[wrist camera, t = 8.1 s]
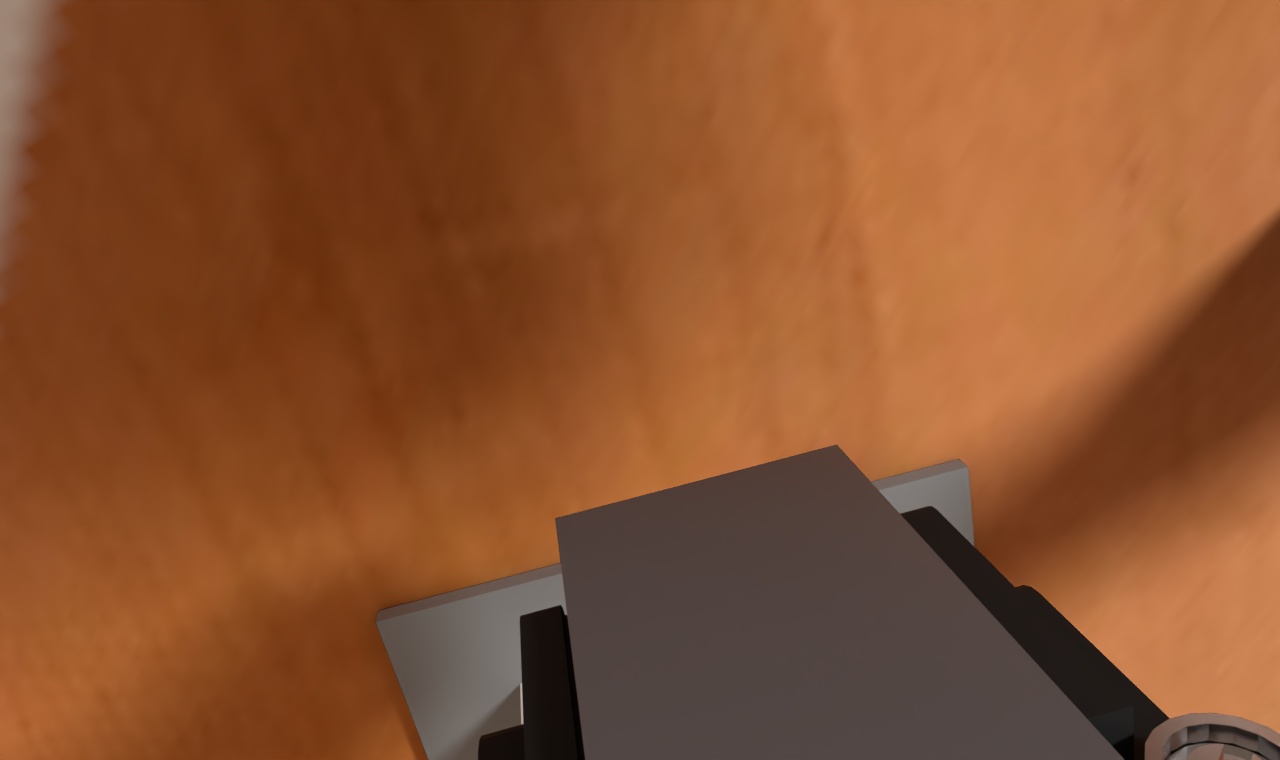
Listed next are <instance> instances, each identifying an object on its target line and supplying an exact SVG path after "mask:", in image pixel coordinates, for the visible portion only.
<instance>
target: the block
mask: <svg viewBox="0 0 1280 760" xmlns="http://www.w3.org/2000/svg"><path fill="white" fill-rule="evenodd" d="M555 521H556V529H557V537H558V545H559V553H560V561H561V569H562V577H563V585H564V593H565V601H566V609H567V617H568V625H569V633H570V641H571V649H572V657H573V665H574V673H575V681H576V689H577V697H578V705H579V713H580V721H581V729H582V737H583V745H584V753H585V760H1124V759H1123V757H1122V756H1121V755H1120V754H1119V753H1118V752H1117V751H1116V750H1115V749H1114V748H1113V747H1112V745H1111V744H1110V743H1109V742H1108V741H1107V740H1106V739H1105V738H1104V737H1103V736H1102V735H1101V733H1100V732H1099V731H1098V730H1097V729H1096V728H1095V727H1094V726H1093V725H1092V724H1091V722H1090V721H1089V720H1088V719H1087V718H1086V717H1085V716H1084V715H1083V714H1082V713H1081V712H1080V710H1079V709H1078V708H1077V707H1076V706H1075V705H1074V704H1073V703H1072V702H1071V701H1070V699H1069V698H1068V697H1067V696H1066V695H1065V694H1064V693H1063V692H1062V691H1061V690H1060V689H1059V687H1058V686H1057V685H1056V684H1055V683H1054V682H1053V681H1052V680H1051V679H1050V678H1049V676H1048V675H1047V674H1046V673H1045V672H1044V671H1043V670H1042V669H1041V668H1040V667H1039V666H1038V664H1037V663H1036V662H1035V661H1034V660H1033V659H1032V658H1031V657H1030V656H1029V655H1028V653H1027V652H1026V651H1025V650H1024V649H1023V648H1022V647H1021V646H1020V645H1019V644H1018V643H1017V641H1016V640H1015V639H1014V638H1013V637H1012V636H1011V635H1010V634H1009V633H1008V632H1007V630H1006V629H1005V628H1004V627H1003V626H1002V625H1001V624H1000V623H999V622H998V621H997V620H996V618H995V617H994V616H993V615H992V614H991V613H990V612H989V611H988V610H987V609H986V607H985V606H984V605H983V604H982V603H981V602H980V601H979V600H978V599H977V598H976V597H975V595H974V594H973V593H972V592H971V591H970V590H969V589H968V588H967V587H966V586H965V585H964V583H963V582H962V581H961V580H960V579H959V578H958V577H957V576H956V575H955V574H954V572H953V571H952V570H951V569H950V568H949V567H948V566H947V565H946V564H945V563H944V562H943V560H942V559H941V558H940V557H939V556H938V555H937V554H936V553H935V552H934V551H933V549H932V548H931V547H930V546H929V545H928V544H927V543H926V542H925V541H924V540H923V539H922V537H921V536H920V535H919V534H918V533H917V532H916V531H915V530H914V529H913V528H912V526H911V525H910V524H909V523H908V522H907V521H906V520H905V519H904V518H903V517H902V516H901V514H900V513H899V512H898V511H897V510H896V509H895V508H894V507H893V506H892V505H891V503H890V502H889V501H888V500H887V499H886V498H885V497H884V496H883V495H882V494H881V493H880V491H879V490H878V489H877V488H876V487H875V486H874V485H873V484H872V483H871V482H870V480H869V479H868V478H867V477H866V476H865V475H864V474H863V473H862V472H861V471H860V470H859V468H858V467H857V466H856V465H855V464H854V463H853V462H852V461H851V460H850V459H849V457H848V456H847V455H846V454H845V453H844V452H843V451H842V450H841V449H840V448H839V447H838V445H833V446H830V447H826V448H822V449H818V450H814V451H810V452H807V453H803V454H799V455H795V456H791V457H788V458H784V459H780V460H776V461H772V462H768V463H765V464H761V465H757V466H753V467H749V468H746V469H742V470H738V471H734V472H730V473H726V474H723V475H719V476H715V477H711V478H707V479H704V480H700V481H696V482H692V483H688V484H684V485H681V486H677V487H673V488H669V489H665V490H662V491H658V492H654V493H650V494H646V495H643V496H639V497H635V498H631V499H627V500H623V501H620V502H616V503H612V504H608V505H604V506H601V507H597V508H593V509H589V510H585V511H581V512H578V513H574V514H570V515H566V516H562V517H559V518H555Z"/></svg>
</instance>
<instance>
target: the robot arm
mask: <svg viewBox="0 0 1280 760" xmlns="http://www.w3.org/2000/svg"><path fill="white" fill-rule="evenodd" d="M900 514H901V516H902V517H903V518H904V519H905V520H906V521H907V522H908V523H909V524H910V525H911V526H912V528H913V529H914V530H915V531H916V532H917V533H918V534H919V535H920V536H921V537H922V539H923V540H924V541H925V542H926V543H927V544H928V545H929V546H930V547H931V548H932V549H933V551H934V552H935V553H936V554H937V555H938V556H939V557H940V558H941V559H942V560H943V562H944V563H945V564H946V565H947V566H948V567H949V568H950V569H951V570H952V571H953V572H954V574H955V575H956V576H957V577H958V578H959V579H960V580H961V581H962V582H963V583H964V585H965V586H966V587H967V588H968V589H969V590H970V591H971V592H972V593H973V594H974V595H975V597H976V598H977V599H978V600H979V601H980V602H981V603H982V604H983V605H984V606H985V607H986V609H987V610H988V611H989V612H990V613H991V614H992V615H993V616H994V617H995V618H996V620H997V621H998V622H999V623H1000V624H1001V625H1002V626H1003V627H1004V628H1005V629H1006V630H1007V632H1008V633H1009V634H1010V635H1011V636H1012V637H1013V638H1014V639H1015V640H1016V641H1017V643H1018V644H1019V645H1020V646H1021V647H1022V648H1023V649H1024V650H1025V651H1026V652H1027V653H1028V655H1029V656H1030V657H1031V658H1032V659H1033V660H1034V661H1035V662H1036V663H1037V664H1038V666H1039V667H1040V668H1041V669H1042V670H1043V671H1044V672H1045V673H1046V674H1047V675H1048V676H1049V678H1050V679H1051V680H1052V681H1053V682H1054V683H1055V684H1056V685H1057V686H1058V687H1059V689H1060V690H1061V691H1062V692H1063V693H1064V694H1065V695H1066V696H1067V697H1068V698H1069V699H1070V701H1071V702H1072V703H1073V704H1074V705H1075V706H1076V707H1077V708H1078V709H1079V710H1080V712H1081V713H1082V714H1083V715H1084V716H1085V717H1086V718H1087V719H1088V720H1089V721H1090V722H1091V724H1092V725H1093V726H1094V727H1095V728H1096V729H1097V730H1098V731H1099V732H1100V733H1101V735H1102V736H1103V737H1104V738H1105V739H1106V740H1107V741H1108V742H1109V743H1110V744H1111V745H1112V747H1113V748H1114V749H1115V750H1116V751H1117V752H1118V753H1119V754H1120V755H1121V756H1122V757H1123V759H1124V760H1280V734H1279V733H1277V732H1276V731H1274V730H1272V729H1270V728H1269V727H1267V726H1264V725H1261V724H1258V723H1255V722H1252V721H1250V720H1247V719H1244V718H1241V717H1236V716H1230V715H1224V714H1218V713H1190V714H1186V715H1182V716H1178V717H1174V718H1171V719H1170V718H1169V717H1168V716H1167V715H1165V714H1164V713H1163V712H1162V711H1161V710H1160V709H1159V708H1158V707H1157V706H1156V705H1155V704H1154V703H1153V702H1152V701H1151V700H1150V699H1149V698H1148V697H1147V696H1146V695H1145V694H1144V693H1143V692H1142V691H1141V690H1140V689H1138V688H1137V687H1136V686H1135V685H1134V684H1133V683H1132V682H1131V681H1130V680H1129V679H1128V678H1127V677H1126V676H1125V675H1124V674H1123V673H1122V672H1121V671H1120V670H1119V669H1118V668H1117V667H1116V666H1115V665H1114V664H1113V663H1111V662H1110V661H1109V660H1108V659H1107V658H1106V657H1105V656H1104V655H1103V654H1102V653H1101V652H1100V651H1099V650H1098V649H1097V648H1096V647H1095V646H1094V645H1093V644H1092V643H1091V642H1090V641H1089V640H1088V639H1087V638H1085V637H1084V636H1083V635H1082V634H1081V633H1080V632H1079V631H1078V630H1077V629H1076V628H1075V627H1074V626H1073V625H1072V624H1071V623H1070V622H1069V621H1068V620H1067V619H1066V618H1065V617H1064V616H1063V615H1062V614H1061V613H1060V612H1058V611H1057V610H1056V609H1055V608H1054V607H1053V606H1052V605H1051V604H1050V603H1049V602H1048V601H1047V600H1046V599H1045V598H1044V597H1043V596H1042V595H1041V594H1040V593H1038V592H1037V591H1036V590H1034V589H1033V588H1032V587H1029V586H1025V585H1022V586H1019V587H1014V586H1013V585H1012V584H1011V583H1010V582H1009V581H1008V580H1007V579H1006V578H1005V577H1004V576H1003V575H1002V574H1001V573H1000V572H999V571H998V570H997V569H996V568H995V567H994V566H993V565H992V564H991V563H990V562H989V561H988V560H987V559H986V558H985V557H984V556H983V555H982V554H981V553H980V552H979V551H978V550H977V549H976V548H975V547H974V546H973V545H972V544H971V543H970V542H969V541H968V540H967V539H966V538H965V537H964V536H963V535H962V534H961V533H960V532H959V531H958V530H957V529H956V528H955V527H954V526H953V525H952V524H951V523H950V522H949V521H948V520H947V519H946V518H945V517H944V516H943V515H942V514H941V513H940V512H939V511H938V510H937V509H935V508H934V507H933V506H927V507H923V508H919V509H915V510H912V511H908V512H904V513H900ZM520 643H521V670H522V697H523V724H521V725H518V726H514V727H511V728H507V729H503V730H500V731H496V732H493V733H489V734H485V735H482V736H481V738H480V740H479V747H478V760H585V753H584V745H583V737H582V729H581V721H580V713H579V705H578V697H577V689H576V681H575V673H574V665H573V657H572V649H571V641H570V633H569V625H568V617H567V615H565V613H564V610H563V607H562V606H561V605H558V606H555V607H551V608H547V609H543V610H540V611H536V612H532V613H529V614H525V615H521V616H520Z"/></svg>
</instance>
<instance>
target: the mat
mask: <svg viewBox="0 0 1280 760" xmlns="http://www.w3.org/2000/svg"><path fill="white" fill-rule="evenodd" d="M871 483H872V484H873V485H874V486H875V487H876V488H877V489H878V490H879V491H880V493H881V494H882V495H883V496H884V497H885V498H886V499H887V500H888V501H889V502H890V503H891V505H892V506H893V507H894V508H895V509H896V510H897V511H898V512H899V513H904V512H908V511H912V510H915V509H919V508H923V507H927V506H933V507H934V508H935V509H937V510H938V511H939V512H940V513H941V514H942V515H943V516H944V517H945V518H946V519H947V520H948V521H949V522H950V523H951V524H952V525H953V526H954V527H955V528H956V529H957V530H958V531H959V532H960V533H961V534H962V535H963V536H964V537H965V538H966V539H967V540H968V541H969V542H970V543H971V544H972V545H973V546H974V547H975V545H974V533H973V520H972V507H971V495H970V482H969V469H968V466H967V465H966V464H964V463H963V462H962V461H961V460H960V459H957V460H954V461H950V462H946V463H942V464H938V465H934V466H931V467H927V468H923V469H919V470H915V471H911V472H908V473H904V474H900V475H896V476H892V477H888V478H885V479H881V480H877V481H873V482H871ZM558 605H561V606H562V607H563V610H564V613H565V615H567V609H566V601H565V593H564V585H563V577H562V569H561V563H559V564H555V565H552V566H548V567H544V568H540V569H536V570H532V571H529V572H525V573H521V574H517V575H513V576H509V577H506V578H502V579H498V580H494V581H490V582H487V583H483V584H479V585H475V586H471V587H467V588H464V589H460V590H456V591H452V592H448V593H444V594H441V595H437V596H433V597H429V598H425V599H421V600H418V601H414V602H410V603H406V604H402V605H398V606H395V607H391V608H387V609H383V610H379V611H378V614H377V618H376V625H377V627H378V630H379V633H380V635H381V638H382V640H383V643H384V646H385V648H386V651H387V653H388V656H389V658H390V661H391V664H392V666H393V669H394V671H395V674H396V677H397V679H398V682H399V684H400V687H401V690H402V692H403V695H404V697H405V700H406V703H407V705H408V708H409V710H410V713H411V716H412V718H413V721H414V723H415V726H416V729H417V731H418V734H419V736H420V739H421V742H422V744H423V747H424V749H425V752H426V755H427V757H428V760H478V747H479V740H480V738H481V736H482V735H485V734H489V733H493V732H496V731H500V730H503V729H507V728H511V727H514V726H518V725H521V698H520V684H521V683H522V670H521V643H520V616H521V615H525V614H529V613H532V612H536V611H540V610H543V609H547V608H551V607H555V606H558Z"/></svg>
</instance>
